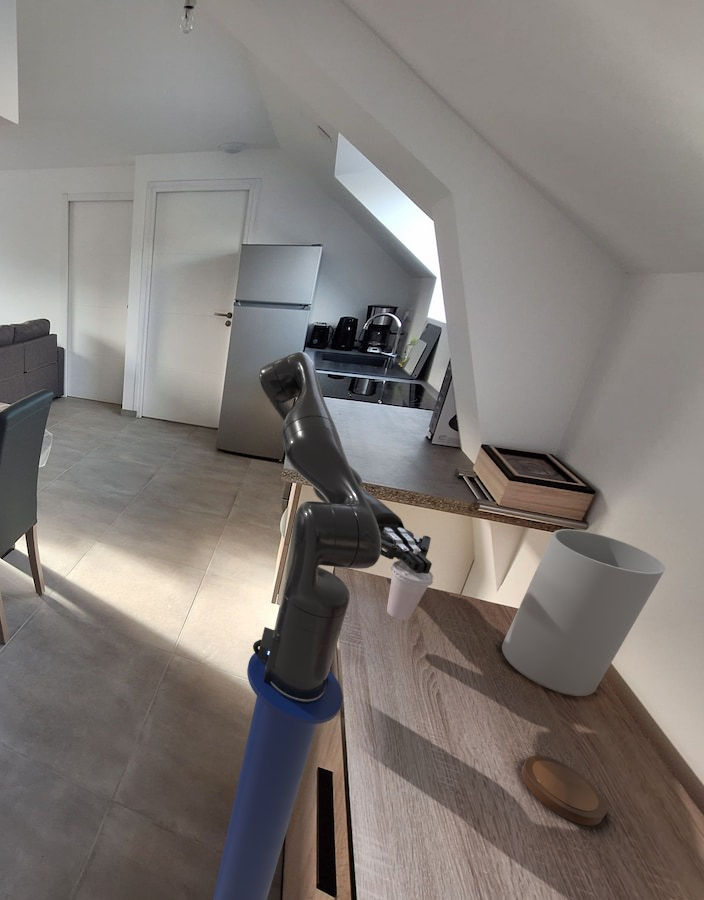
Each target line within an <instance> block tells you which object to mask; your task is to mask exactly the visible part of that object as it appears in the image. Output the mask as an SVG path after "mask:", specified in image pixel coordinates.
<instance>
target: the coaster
mask: <svg viewBox="0 0 704 900" xmlns="http://www.w3.org/2000/svg"><path fill="white" fill-rule="evenodd" d="M520 773H521V778H522V780H523V782H524V784H525V786H526V787H527V788H528V790H529V791H530V792H531V793H532V795H533V796H534V797H535V798H536V799H537V800H539V801H540V803H542V804H543V805H544V806H545V807H547V808H548V809H550V810H551V811H552V812H554V813H555V814H557V815H558V816H560V817H562V818H564V819H566V820H568V821H570V822H572V823H575V824H579V825H581V826H582V825H583V826H588V827H591V826H597V825H599V824H600V823H601V822H602V820H603V819H604V817H605V816H606V815H607V812H608V806H607V803H606V801H605V799H604V797H603V795H602V794H601V792H600V791H599V790H598V789H597V787H595V785H594V784H593V783H592V782H591V781H589V779H587V778H586V777H585V776H583V775H582V774H581V773H580V772H578V771H577V770H575V769H574V768H572V767H570V766H569V765H567V764H565V763H563V762H561V761H559V760H557V759H555V758H552V757H549V756H544V755H531V756H528V757H527V758H526V759H525V761H524V763H523V764H522V767H521V769H520Z"/></svg>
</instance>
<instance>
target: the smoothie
mask: <svg viewBox="0 0 704 900" xmlns="http://www.w3.org/2000/svg"><path fill="white" fill-rule="evenodd" d="M417 551H418V549H416V548H415V549H414V551H413V553H414V554H415V555H416V554H417ZM390 571H391V577H390V578H391V579H390V580H391V581H390V586H389V592H388V593H389V594H388V600H387V606H386V612H387V614H388V615H389V616H391V617H392V618H394V619H396V620H399V621H405V622H407V621H409V620H410V618H411V617H412V615H413V613H414V612H415V610H416V609H417V606H418V605H419V603H420V601H421V599H422V597H423V596H424V594H425V593H426V591H427V589H428V587H430V586H432V584H433V582H434V575H433V574H432V572H431V570H430V571H429V573H428V574H423V573H416V572H415V571H414V570H412V569H410V568H409V567H408V566H407V565H406V564H405V563H404V562H402V561H399V560H397V561H394V562H393V563H392V566H391V567H390Z"/></svg>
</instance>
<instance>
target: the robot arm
mask: <svg viewBox="0 0 704 900" xmlns="http://www.w3.org/2000/svg"><path fill="white" fill-rule="evenodd" d="M258 380H259V385H260V387H261V389H262V391H263V393H264V395H265V397H266V398H267V400H268V402H269V403H270V405H271V407H272V408H273V409H274V411H275V412H276V413H277V415H278V416H279V418H280V420H281V421H282V422H283V423H282V426H281V431H280V432H281V433H280V435H281V441H282V445H283V449H284V452H285V457H286V459H287V461H288V463H289V465H290V466H291V468H292V469H293V470H295V472H296V473H297V474H298V475H299V476H301V478H303V479H304V480H305V481H306V482H307V483H309V484H310V485H311V486H312V489H313V493H314V495H315V496H316V498H317V499H318V500H319V501H311V500H308V501H304V502H303V503H301V504H300V505H299V507H298V508H297V511H296V512H295V515H294V519H293V524H292V531H291V538H290V545H289V552H288V557H287V561H286V569H285V576H284V577H285V578H284V584H283V587H282V588H283V589H282V593H281V597H280V604H279V608H278V611H277V616H276V619H275V624H274V625H275V626H274V629H272V628H269V627H266V626H264V628H263V632H262V636H261V639H257V640H256V641H255V642H254V643H253V644H252V649H253V652H254V653H256V655H257V656H258V658H260V659H262V660H265V661H267V663H266V667H265V674H264V679H263V681H264V682H265V683H268V684H270V685H271V686H272V688H273V689H274V690H275V691H276V692H278V693H279V694H280V695H282V696H283V697H285V698H287V699H289V700H292V701H294V702H298V703H314V702H316V701H318V700H320V699H321V697H322V696H323V694H324V690H325V685H326V681H327V685H328V675H329V670H330V671H331V666H332V664H333V659H334V656H335V653H336V650H337V649H336V648H337V645H338V642H339V638H340V635H341V631H342V628H343V625H344V621H345V617H346V614H347V610H348V607H349V604H350V599H351V595H350V590H349V588H348V586H347V584H346V583H345V582H344V580H342V579H341V578H340V577H339V576H337V575H336V574H334V573H332V572H331V571H330V570H327V569H325V568H322V567H321V566H324V567H325V566H326V567H335V568H344V569H355V570H358V569H360V570H361V569H362V570H363V569H369V568H371V567H373V566H374V565H376V564H377V562H378V561H379V559H380V557H381V556H382V557H385V558H387V559H389V560H394V559H397V561H402V562H404V563H405V564H406V565H407V566H408V567H409V568H410V569H412V570H414V571H415V572H416V573H423V574H428V573H429V571H430V572H431V569H432V566H433V563H432V562H431V561H430V560H429V559H428V558H427V555H428V552H429V549H430V545H431V540H432V537H430V536H428V535H423V536H422V537H418V536H416V535H414V533H413V532H412V531H410V530H408V529H407V528H406V527H405V526H404V523H403V521H402V519H401V517H400V516H399V515H397V514H396V513H395V512H394V511H393V510H392V509H390V508H389V507H388V506H387V505H386V504H384V502H382V501H381V500H379V499H378V498H377V497H375V496H373V495H372V494H371V493H370V492H369V491H368V490H366V489H365V488H364V487H362V486H363V480H362V477H361V475H360V474H359V473H358V472H357V471H356V470H355V469H354V468H353V467H352V466H351V465H350V464H349V461H348V458H347V456H346V453H345V451H344V448H343V445H342V441H341V438H340V435H339V432H338V430H337V427H336V424H335V422H334V420H333V418H332V415H331V413H330V411H329V409H328V406H327V404H326V401H325V398H324V393H323V390H322V388H321V382H320V378H319V375H318V371H317V369H316V366H315V364H314V362H313V360H312V358H311V357H310V356H309V355H308V354H307V353H306V352H304V351H295V352H292V353H289V354H287V355H285V356H282V357H280V358H278V359H276V360H274V361H271V362H269V363H267V364H265V365H263V366H262V367H261V368H259V369H258ZM295 399H296V400H295ZM292 400H295V401H294V402H293V404H292V405H291V404H290V403H289V402H290V401H292ZM415 548H416V549H418V551H417V554H416V555H415V554H414V553H413V551H414V549H415ZM326 688H327V686H326Z"/></svg>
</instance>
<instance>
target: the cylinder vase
mask: <svg viewBox="0 0 704 900" xmlns="http://www.w3.org/2000/svg"><path fill="white" fill-rule="evenodd" d="M535 569H536V570H535V572H534V574H533V576H532V579H531V581H530V583H529V585H528V587H527V589H526V592H525V594H524V596H523V598H522V600H521V603H520V605H519V607H518V608H517V611H516V613H515V615H514V618H513V620H512V622H511V624H510V627H509V629H508V631H507V633H506V635H505V637H504V639H503V642H502V644H501V651H502V654H503V657H504V658H505V659H506V661H507V662H508V663H509V664H510V665H511V666H512V667H513V668H514V669H515V670H516V671H518V672H519V673H520V674H521V675H523V676H524V677H525V678H527V679H529V680H530V681H532V682H534V683H536V684H537V685H539V686H542V687H543V688H546V689H549V690H551V691H554V692H556V693H560V694H563V695H566V696H574V697H585V696H586V697H587V696H589V695H592V694H593V693H595V691H596V690H597V688H598V687H599V685H600V683H601V681H602V679H603V678H604V676H605V674H606V673H607V671H608V669H609V668H610V666H611V664H612V662H613V660H614V659H615V657H616V655H617V654H618V652H619V650H620V649H621V647H622V645H623V644H624V642H625V640H626V638H627V637H628V635H629V633H630V631H631V630H632V628H633V626H634V625H635V623H636V621H637V619H638V617H639V616H640V614H641V612H642V610H643V609H644V607H645V605H646V604H647V602H648V600H649V598H650V597H651V595H652V594H653V592H654V590H655V588H656V587H657V585H658V583H659V581H660V579H661V578H662V576H663V574H664V573H665V571H666V566H665V564H664V563H663V562H662V561H661V560H660V559H658V558H657V557H655V556H654V555H652V554H651V553H649V552H647V551H645V550H643V549H641V548H639V547H637V546H634V545H632V544H630V543H627V542H624V541H622V540H619V539H616V538H613V537H610V536H607V535H603V534H599V533H595V532H591V531H585V530H579V529H571V528H570V529H568V528H564V529H562V528H561V529H557V530H554V531H553V532H552V535H551V536H550V539H549V541H548V543H547V545H546V548H545V550H544V552H543V554H542V557H541V559H540V561H539V563H538V565H537V567H536V568H535Z"/></svg>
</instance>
